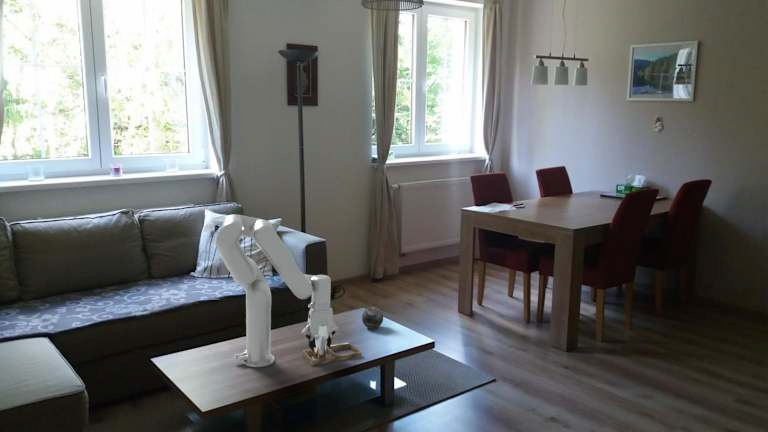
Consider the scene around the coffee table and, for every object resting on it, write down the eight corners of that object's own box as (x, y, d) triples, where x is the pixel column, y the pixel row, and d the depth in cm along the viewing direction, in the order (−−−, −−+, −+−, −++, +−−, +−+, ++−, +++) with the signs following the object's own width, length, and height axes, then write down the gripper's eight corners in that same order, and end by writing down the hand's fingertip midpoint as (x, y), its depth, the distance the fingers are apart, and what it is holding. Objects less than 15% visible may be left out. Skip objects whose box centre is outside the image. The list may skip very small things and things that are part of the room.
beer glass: (329, 355, 258) (330, 320, 255) (326, 362, 251) (327, 326, 248) (313, 354, 258) (313, 319, 255) (309, 360, 251) (310, 325, 249)
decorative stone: (367, 333, 284) (368, 312, 282) (357, 326, 292) (358, 305, 290) (386, 330, 288) (387, 309, 287) (376, 323, 297) (377, 303, 295)
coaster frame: (311, 365, 247) (311, 360, 247) (301, 355, 257) (301, 349, 256) (361, 356, 257) (361, 351, 257) (350, 347, 267) (350, 342, 266)
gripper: (303, 311, 243) (303, 354, 246) (344, 306, 251) (343, 347, 254) (297, 305, 250) (296, 347, 253) (336, 300, 258) (335, 341, 261)
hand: (319, 347), depth 254 cm, fingers open, 6 cm apart
